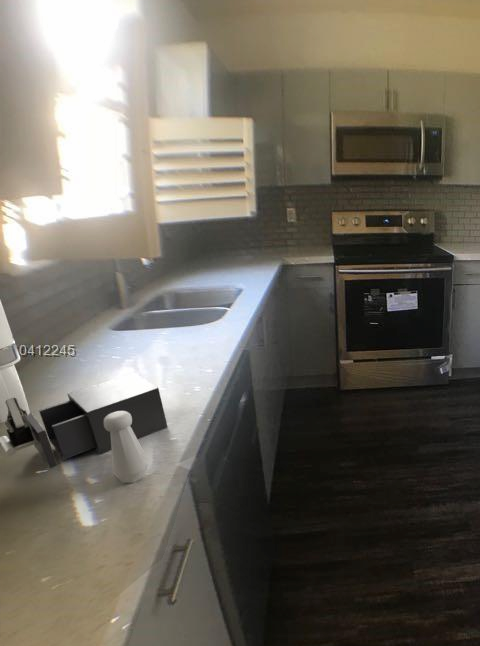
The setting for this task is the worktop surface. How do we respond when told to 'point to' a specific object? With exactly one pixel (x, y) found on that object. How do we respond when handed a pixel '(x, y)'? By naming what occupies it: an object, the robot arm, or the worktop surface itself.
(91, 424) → the dark grey box
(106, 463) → the worktop surface
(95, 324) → the worktop surface
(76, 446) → the drawer
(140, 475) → the salt shaker
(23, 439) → the robot arm
